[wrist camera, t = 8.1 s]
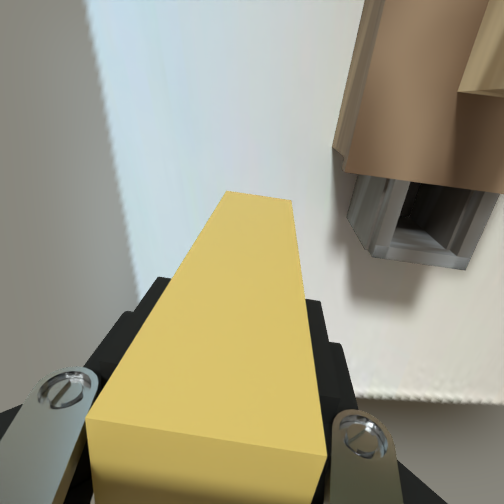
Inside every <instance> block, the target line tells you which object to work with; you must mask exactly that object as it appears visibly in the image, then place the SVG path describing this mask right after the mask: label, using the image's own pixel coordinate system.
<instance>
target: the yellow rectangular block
mask: <svg viewBox="0 0 504 504" xmlns="http://www.w3.org/2000/svg"><path fill="white" fill-rule="evenodd" d="M85 422H86V430H87V439H88V448H89V456H90V465H91V474H92V482H93V491H94V500H95V504H311V501H312V499H313V496H314V493H315V490H316V487H317V484H318V481H319V479H320V476H321V473H322V470H323V467H324V464H325V461H326V459H327V451H326V443H325V436H324V429H323V422H322V415H321V408H320V401H319V394H318V387H317V380H316V372H315V365H314V358H313V351H312V344H311V337H310V330H309V323H308V316H307V309H306V302H305V294H304V287H303V280H302V273H301V266H300V259H299V252H298V245H297V238H296V231H295V223H294V216H293V209H292V202H291V200H285V199H279V198H272V197H265V196H258V195H252V194H245V193H238V192H231V191H226V192H225V194H224V196H223V197H222V199H221V201H220V202H219V204H218V205H217V207H216V209H215V210H214V212H213V213H212V215H211V217H210V218H209V220H208V221H207V223H206V225H205V226H204V228H203V229H202V231H201V233H200V234H199V236H198V237H197V239H196V241H195V242H194V244H193V245H192V247H191V249H190V250H189V252H188V253H187V255H186V257H185V258H184V260H183V261H182V263H181V265H180V266H179V268H178V269H177V271H176V273H175V274H174V276H173V277H172V279H171V281H170V282H169V284H168V286H167V287H166V289H165V290H164V292H163V294H162V295H161V297H160V298H159V300H158V302H157V303H156V305H155V306H154V308H153V310H152V311H151V313H150V314H149V316H148V318H147V319H146V321H145V322H144V324H143V326H142V327H141V329H140V330H139V332H138V334H137V335H136V337H135V338H134V340H133V342H132V343H131V345H130V346H129V348H128V350H127V351H126V353H125V354H124V356H123V358H122V359H121V361H120V362H119V364H118V366H117V367H116V369H115V371H114V372H113V374H112V375H111V377H110V379H109V380H108V382H107V383H106V385H105V387H104V388H103V390H102V391H101V393H100V395H99V396H98V398H97V399H96V401H95V403H94V404H93V406H92V407H91V409H90V411H89V412H88V414H87V415H86V417H85Z"/></svg>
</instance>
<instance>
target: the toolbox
mask: <svg viewBox="0 0 504 504" xmlns="http://www.w3.org/2000/svg"><path fill="white" fill-rule="evenodd" d="M380 2H381V0H365V2H364V7H363V11H362V15H361V20H360V24H359V29H358V33H357V38H356V42H355V47H354V51H353V56H352V60H351V65H350V69H349V73H348V78H347V82H346V87H345V91H344V96H343V100H342V105H341V109H340V114H339V118H338V122H337V127H336V131H335V136H334V140H333V145H332V147H333V148H334V149H335V150H336V151H338V152H339V153H340V154H341V155H342V156H343V157H344V156H345V152H346V148H347V143H348V139H349V135H350V130H351V126H352V122H353V118H354V113H355V109H356V105H357V101H358V96H359V92H360V88H361V83H362V79H363V75H364V71H365V66H366V62H367V58H368V53H369V49H370V45H371V41H372V36H373V32H374V28H375V23H376V19H377V15H378V11H379V6H380ZM389 179H390V178H383V177H375V176H368V175H361V174H358V177H357V180H356V184H355V188H354V192H353V195H352V199H351V203H350V207H349V210H348V214H347V219H348V221H349V223H350V224H351V226H352V228H353V230H354V231H355V233H356V235H357V237H358V238H359V240H360V242H361V244H362V245H363V247H364V249H365V250H368V249H369V246H370V243H371V239H372V236H373V233H374V229H375V226H376V223H377V219H378V216H379V213H380V209H381V206H382V202H383V199H384V196H385V192H386V189H387V186H388V182H389ZM473 192H474V190H470V189H463V188H456V187H448V186H441V185H434V184H426V183H421V185H420V188H419V191H418V193H417V196H416V199H415V202H414V205H413V208H412V210H411V213H410V216H409V217H406V216H399V218H398V221H397V225H396V228H395V231H394V234H393V237H392V240H391V242H397V243H404V244H411V245H418V246H425V247H433V248H440V249H447V250H450V247H451V245H452V242H453V240H454V238H455V235H456V233H457V230H458V228H459V226H460V223H461V221H462V218H463V216H464V214H465V211H466V209H467V206H468V204H469V202H470V199H471V197H472V194H473Z"/></svg>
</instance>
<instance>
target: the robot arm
mask: <svg viewBox="0 0 504 504" xmlns="http://www.w3.org/2000/svg"><path fill="white" fill-rule="evenodd" d="M170 281H171V278H164V277H158V278H157V279H156V280H155V282H154V283H153V284H152V286H151V287H150V289H149V290H148V292H147V293H146V294H145V296H144V297H143V299H142V300H141V302H140V303H139V305H138V306H137V307H136V309H135V310H134V312H131V311H126V312H124V313H123V314H122V315H121V316H120V318H119V319H118V321H117V322H116V323H115V325H114V326H113V327H112V329H111V330H110V331H109V333H108V334H107V336H106V337H105V338H104V339H103V341H102V342H101V344H100V345H99V346H98V348H97V349H96V350H95V352H94V353H93V354H92V356H91V357H90V358H89V360H88V361H87V362H86V364H85V365H84V366H83V367H77V366H76V367H66V368H63V369H60V370H56V371H54V372H52V373H50V374H48V375H47V376H45V377H44V378H42V379H41V380H40V381H39V382H38V383H37V384H36V385H35V387H34V388H33V389H32V391H31V392H30V394H29V395H28V397H27V399H26V400H25V402H24V404H21V405H19V406H17V407H14V408H12V409H9V410H7V411H4V412H2V413H0V504H95V500H94V491H93V482H92V474H91V465H90V456H89V448H88V439H87V430H86V422H85V417H86V415H87V414H88V412H89V411H90V409H91V407H92V406H93V404H94V403H95V401H96V399H97V398H98V396H99V395H100V393H101V391H102V390H103V388H104V387H105V385H106V383H107V382H108V380H109V379H110V377H111V375H112V374H113V372H114V371H115V369H116V367H117V366H118V364H119V362H120V361H121V359H122V358H123V356H124V354H125V353H126V351H127V350H128V348H129V346H130V345H131V343H132V342H133V340H134V338H135V337H136V335H137V334H138V332H139V330H140V329H141V327H142V326H143V324H144V322H145V321H146V319H147V318H148V316H149V314H150V313H151V311H152V310H153V308H154V306H155V305H156V303H157V302H158V300H159V298H160V297H161V295H162V294H163V292H164V290H165V289H166V287H167V286H168V284H169V282H170ZM305 302H306V309H307V316H308V323H309V330H310V337H311V344H312V351H313V358H314V365H315V372H316V380H317V387H318V394H319V401H320V408H321V415H322V422H323V429H324V436H325V443H326V451H327V459H326V461H325V464H324V467H323V470H322V473H321V476H320V479H319V481H318V484H317V487H316V490H315V493H314V496H313V499H312V501H311V504H447V503H446V502H445V501H444V500H443V499H442V498H441V497H439V496H438V495H437V494H436V493H435V492H434V491H432V490H431V489H430V488H429V487H428V486H427V485H426V484H424V483H423V482H422V481H421V480H420V479H419V478H418V477H416V476H415V475H414V474H413V473H412V472H411V471H409V470H408V469H407V468H406V467H405V466H404V465H403V464H401V463H400V462H399V461H398V460H397V458H396V451H395V445H394V442H393V439H392V436H391V434H390V433H389V431H388V430H387V428H386V427H385V426H384V425H383V424H382V423H381V422H380V421H379V420H378V419H376V418H375V417H373V416H372V415H370V414H368V413H366V412H363V411H360V410H358V406H357V402H356V398H355V394H354V390H353V386H352V383H351V379H350V375H349V371H348V367H347V363H346V359H345V356H344V352H343V348H342V346H341V344H340V343H334V342H329V339H328V335H327V330H326V325H325V320H324V316H323V311H322V306H321V302H320V301H316V300H310V299H305Z"/></svg>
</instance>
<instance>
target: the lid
mask: <svg viewBox="0 0 504 504" xmlns="http://www.w3.org/2000/svg"><path fill="white" fill-rule="evenodd" d="M342 170H343V171H344V172H346V173H354V174H361V175H368V176H375V177H383V178H390V179H389V182H388V186H387V189H386V192H385V196H384V199H383V202H382V206H381V209H380V213H379V216H378V219H377V223H376V226H375V229H374V233H373V236H372V239H371V243H370V246H369V249H368V251H369V253H370V255H371V256H372V257H375V258H382V259H389V260H396V261H403V262H410V263H417V264H424V265H431V266H438V267H445V268H452V269H459V270H466V268H467V265H468V263H469V261H470V259H471V257H472V254H473V252H474V250H475V248H476V246H477V243H478V241H479V239H480V237H481V235H482V232H483V230H484V228H485V226H486V223H487V221H488V219H489V217H490V215H491V212H492V210H493V208H494V206H495V204H496V201H497V199H498V197H499V195H500V194H504V0H381V2H380V6H379V11H378V15H377V19H376V23H375V28H374V32H373V36H372V41H371V45H370V49H369V53H368V58H367V62H366V66H365V71H364V75H363V79H362V83H361V88H360V92H359V96H358V101H357V105H356V109H355V113H354V118H353V122H352V126H351V130H350V135H349V139H348V143H347V148H346V152H345V156H344V160H343V165H342ZM411 181H412V182H419V183H426V184H434V185H441V186H448V187H456V188H463V189H470V190H474V192H473V194H472V197H471V199H470V202H469V204H468V206H467V209H466V211H465V214H464V216H463V218H462V221H461V223H460V226H459V228H458V230H457V233H456V235H455V238H454V240H453V242H452V245H451V247H450V250H447V249H440V248H433V247H425V246H418V245H411V244H404V243H397V242H391V240H392V237H393V234H394V231H395V228H396V225H397V221H398V218H399V215H400V212H401V209H402V206H403V203H404V200H405V197H406V194H407V191H408V188H409V185H410V182H411Z"/></svg>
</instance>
